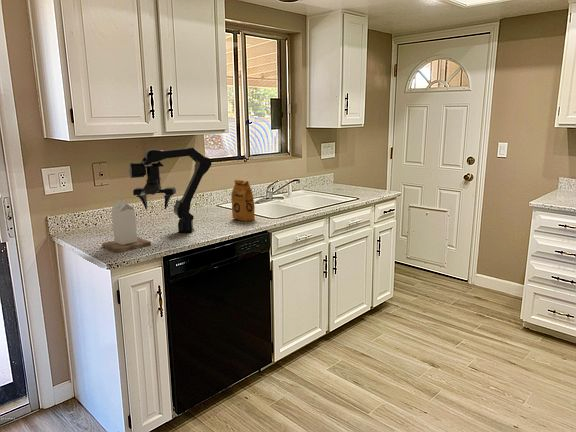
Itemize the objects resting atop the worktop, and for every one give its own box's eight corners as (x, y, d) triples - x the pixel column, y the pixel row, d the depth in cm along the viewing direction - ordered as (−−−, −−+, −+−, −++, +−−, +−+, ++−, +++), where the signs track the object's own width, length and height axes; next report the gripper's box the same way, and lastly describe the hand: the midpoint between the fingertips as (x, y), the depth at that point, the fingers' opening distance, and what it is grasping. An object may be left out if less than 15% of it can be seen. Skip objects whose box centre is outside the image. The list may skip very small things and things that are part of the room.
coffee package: (243, 222, 233) (241, 182, 228) (230, 219, 242) (228, 180, 237) (257, 220, 239) (256, 180, 234) (244, 216, 248) (243, 178, 243)
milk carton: (129, 239, 198) (125, 198, 194) (137, 241, 193) (133, 200, 189) (114, 242, 193) (110, 200, 188) (122, 245, 188) (118, 202, 184)
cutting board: (136, 239, 203) (136, 236, 203) (151, 245, 194) (150, 241, 193) (102, 246, 192) (101, 243, 192) (115, 252, 183) (115, 249, 182)
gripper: (127, 179, 195) (130, 212, 199) (168, 178, 195) (171, 212, 199) (135, 175, 206) (138, 208, 210) (175, 175, 206) (177, 207, 210)
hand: (156, 209), depth 207 cm, fingers open, 9 cm apart
